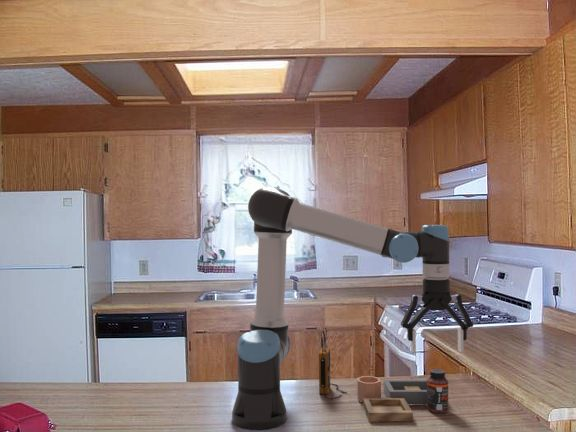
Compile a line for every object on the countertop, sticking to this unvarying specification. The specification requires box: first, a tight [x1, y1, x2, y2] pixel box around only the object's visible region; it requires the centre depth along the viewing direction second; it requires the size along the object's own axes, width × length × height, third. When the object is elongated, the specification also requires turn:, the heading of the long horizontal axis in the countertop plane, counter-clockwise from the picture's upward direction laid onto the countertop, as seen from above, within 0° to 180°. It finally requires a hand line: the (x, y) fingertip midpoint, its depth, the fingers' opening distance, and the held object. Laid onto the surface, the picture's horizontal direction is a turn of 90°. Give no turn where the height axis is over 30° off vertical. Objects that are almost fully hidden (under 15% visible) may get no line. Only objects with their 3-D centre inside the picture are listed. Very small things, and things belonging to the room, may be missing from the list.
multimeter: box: [318, 327, 351, 400], centre depth 163 cm, size 15×10×20 cm
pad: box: [404, 386, 421, 390], centre depth 156 cm, size 4×4×1 cm
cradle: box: [382, 379, 427, 404], centre depth 156 cm, size 16×11×4 cm
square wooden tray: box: [362, 397, 414, 423], centre depth 145 cm, size 12×12×2 cm
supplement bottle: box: [426, 368, 449, 414], centre depth 147 cm, size 6×6×11 cm
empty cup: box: [356, 375, 382, 403], centre depth 156 cm, size 7×7×6 cm
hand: (437, 351), depth 147 cm, fingers open, 13 cm apart
